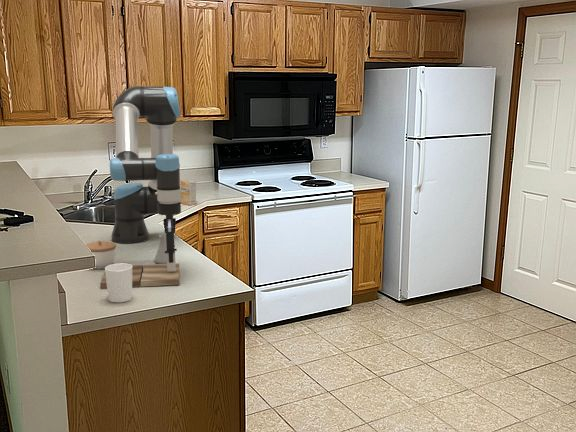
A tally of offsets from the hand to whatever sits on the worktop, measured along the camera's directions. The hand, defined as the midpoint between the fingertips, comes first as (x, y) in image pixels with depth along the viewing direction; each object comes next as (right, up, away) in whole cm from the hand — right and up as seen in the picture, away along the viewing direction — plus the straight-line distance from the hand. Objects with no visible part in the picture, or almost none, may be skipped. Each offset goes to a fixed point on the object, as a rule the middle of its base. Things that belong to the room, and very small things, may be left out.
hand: (171, 270), depth 196 cm
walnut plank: (-16, -3, -2) cm, 16 cm away
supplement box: (-16, +25, +126) cm, 130 cm away
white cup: (-11, -7, -20) cm, 24 cm away
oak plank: (-3, -2, 0) cm, 4 cm away
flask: (-6, +1, +19) cm, 20 cm away
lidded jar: (-27, 0, +12) cm, 30 cm away
